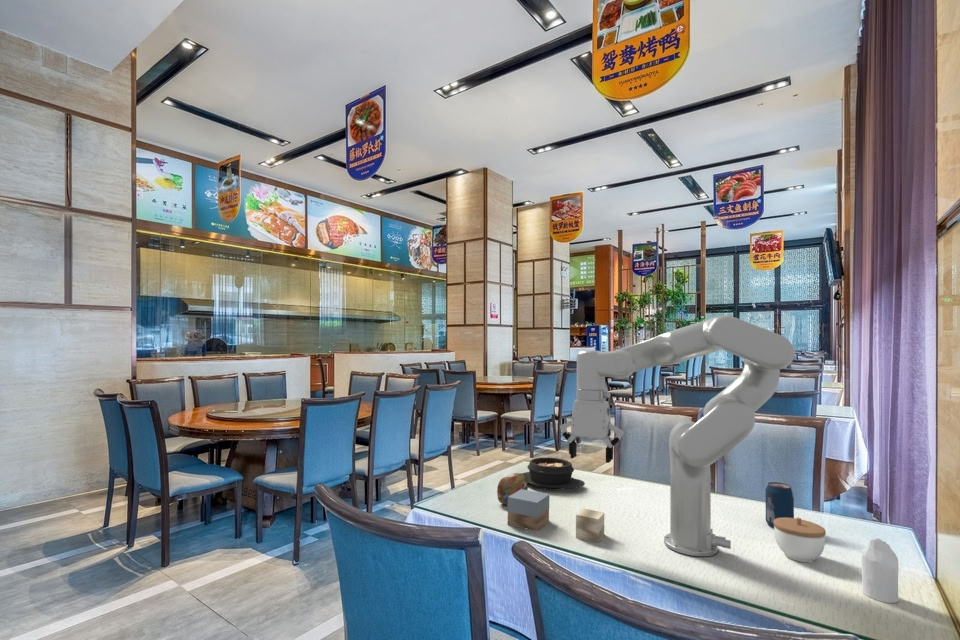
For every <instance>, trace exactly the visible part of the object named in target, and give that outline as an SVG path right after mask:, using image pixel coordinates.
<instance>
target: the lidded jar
mask: <svg viewBox="0 0 960 640" xmlns="http://www.w3.org/2000/svg"><path fill="white" fill-rule="evenodd" d="M773 531H774V533H773V534H774V538H775V542H776V544H777V546H778V547H779V549H780V551H782V552H783V553H784V556H785V557H787V558H789V559H790V560H793V561H796V562H800V563H801V562H802V563H814V562H815V560H817V559H818V558H819V557H821V555H822V553H823V552H824V549H825V545H826V533H827V532H826V529H825V528H824V527H823V526H822V525H821V524H820V525H819V524H817V523H815V522H812V521H810V520H806V519H802V518H801V517H796V518H795V517H794V518H776V519H775V520H774V529H773Z"/></svg>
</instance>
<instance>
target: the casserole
mask: <svg viewBox="0 0 960 640" xmlns="http://www.w3.org/2000/svg"><path fill="white" fill-rule="evenodd" d="M526 467H527V469H528V471H526V472H522V473H523V474H525V475H526V477H527V480H528V484H531V485H532V486H536V487H537V488H540V487H541V489H544V488H546V490H561V489H563V490H575V489H580V488H582V487H584V486H585V484H586V483H585V482H584V480H582V479H578V478H574V477H572V475H573V473H574V470H575V469H574V467H573V465H572V462H570V461H569V460H566V459H562V458H558V457H557V458H556V457H536V458H532V459H531V460H530V461H529V464H528V465H527V466H526Z"/></svg>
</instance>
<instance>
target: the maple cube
mask: <svg viewBox="0 0 960 640" xmlns="http://www.w3.org/2000/svg"><path fill="white" fill-rule="evenodd" d="M604 536H605V512H604V511H599V510H595V509H593V510H592V509H588V508H582V509H580V510H579V511H578V512H577V513H576V515H575V539H580V538H581V539H582V540H585V539H586V541H589V540H590V542H594V541H595V542H594V543H599V542H600V541H601V540H602V539H603V537H604ZM600 539H601V540H600Z"/></svg>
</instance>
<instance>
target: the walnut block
mask: <svg viewBox="0 0 960 640" xmlns="http://www.w3.org/2000/svg"><path fill="white" fill-rule="evenodd" d="M549 521H550V508H549V509H548V510H546V511H545V512H544V513H542V514H541V515H540V516H539V517H532V516H527V515H522V514H518V513H513V512H508V511H507V525H508V526H512V527H515V528H516V527H517V528H521V529H525V528H527V529H526V530H530V529H531V530H530V531H534V530H535V532H538V531H540V529H541V528H543V527H544V526H545V525H546V524H547V523H548V522H549ZM543 525H544V526H543ZM542 526H543V527H542Z"/></svg>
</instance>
